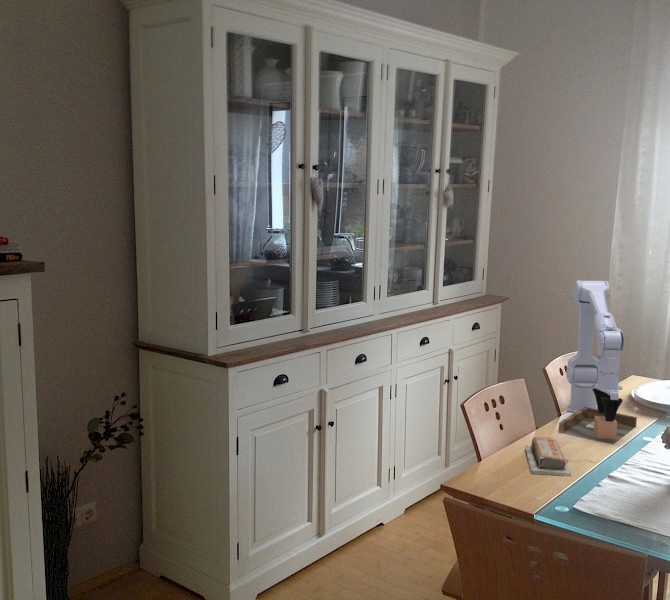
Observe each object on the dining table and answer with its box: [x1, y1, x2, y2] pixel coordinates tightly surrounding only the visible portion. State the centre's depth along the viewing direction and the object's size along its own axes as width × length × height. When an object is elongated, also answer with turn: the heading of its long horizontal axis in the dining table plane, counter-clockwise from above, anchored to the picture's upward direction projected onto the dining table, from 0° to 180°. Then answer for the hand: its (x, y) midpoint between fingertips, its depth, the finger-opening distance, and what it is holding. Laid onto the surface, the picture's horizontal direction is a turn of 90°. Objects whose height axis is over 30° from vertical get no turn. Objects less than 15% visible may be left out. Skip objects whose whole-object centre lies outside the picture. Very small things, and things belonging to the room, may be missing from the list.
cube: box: [594, 416, 617, 439], centre depth 213 cm, size 5×5×5 cm
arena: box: [558, 407, 638, 445], centre depth 219 cm, size 20×16×4 cm
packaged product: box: [524, 436, 572, 477], centre depth 196 cm, size 18×5×10 cm
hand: (605, 417), depth 213 cm, fingers open, 7 cm apart
